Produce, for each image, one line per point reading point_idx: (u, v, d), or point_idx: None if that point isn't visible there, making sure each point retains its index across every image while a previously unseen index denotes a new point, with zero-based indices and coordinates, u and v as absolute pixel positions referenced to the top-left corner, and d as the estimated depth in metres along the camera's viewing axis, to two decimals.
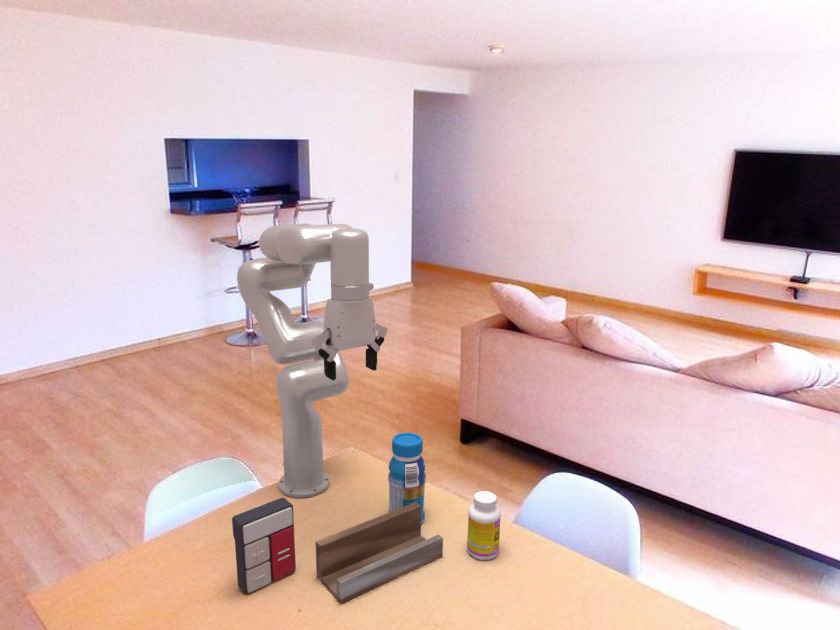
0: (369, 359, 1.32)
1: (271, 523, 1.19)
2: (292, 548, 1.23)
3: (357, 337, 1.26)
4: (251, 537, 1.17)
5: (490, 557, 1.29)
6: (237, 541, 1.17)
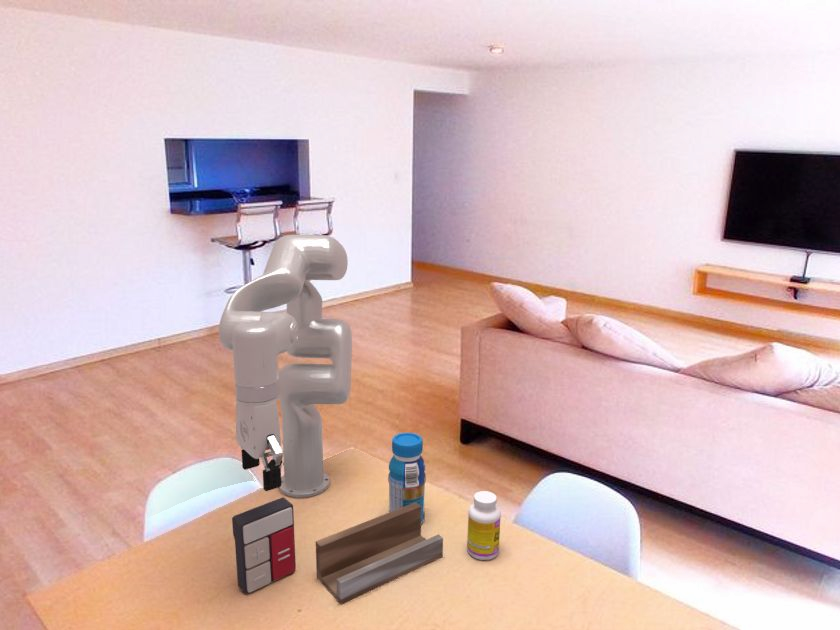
0: (251, 458, 1.20)
1: (271, 523, 1.19)
2: (292, 548, 1.23)
3: None
4: (251, 537, 1.17)
5: (490, 557, 1.29)
6: (237, 541, 1.17)
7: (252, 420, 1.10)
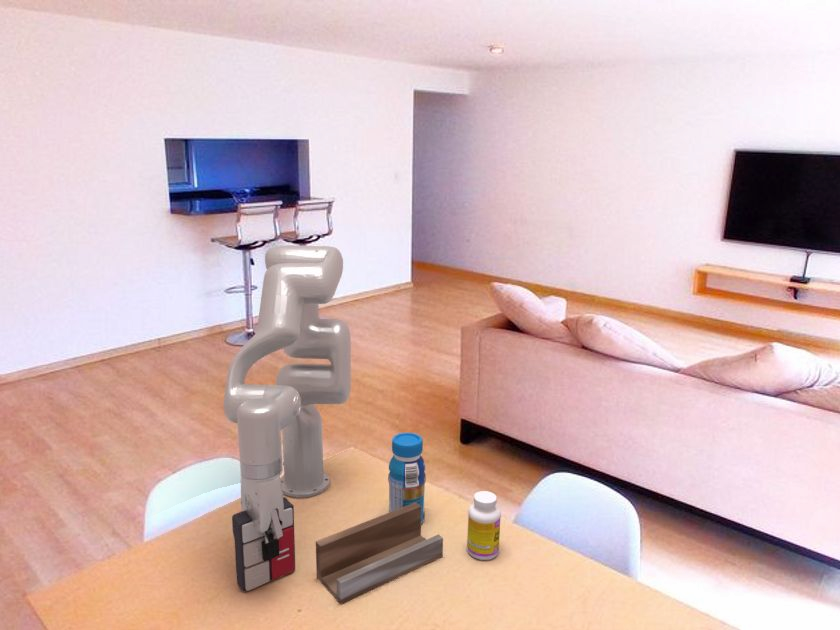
0: None
1: None
2: (292, 548, 1.23)
3: None
4: (250, 536, 1.17)
5: (490, 557, 1.29)
6: (236, 539, 1.17)
7: (257, 496, 1.14)
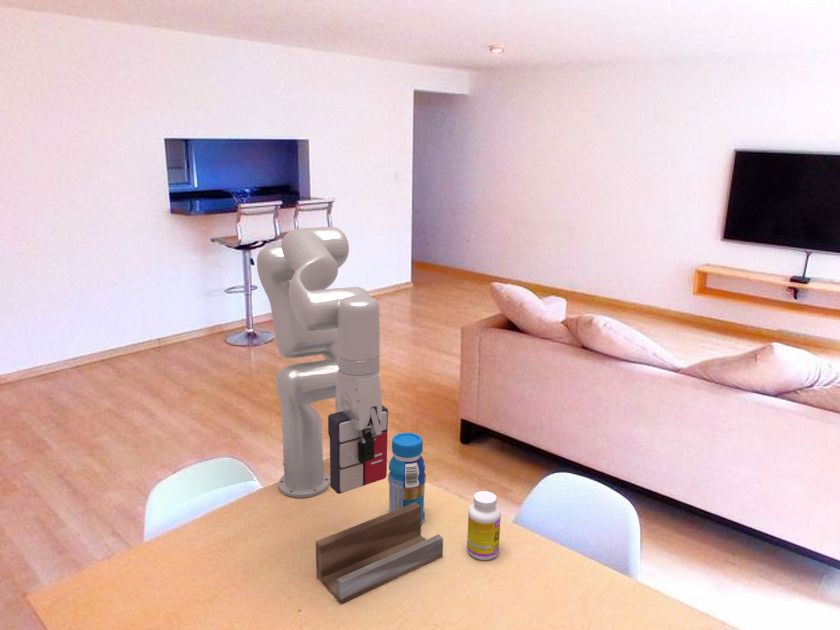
0: None
1: None
2: (385, 453, 1.21)
3: None
4: (347, 436, 1.15)
5: (490, 557, 1.29)
6: (332, 439, 1.16)
7: (356, 392, 1.12)
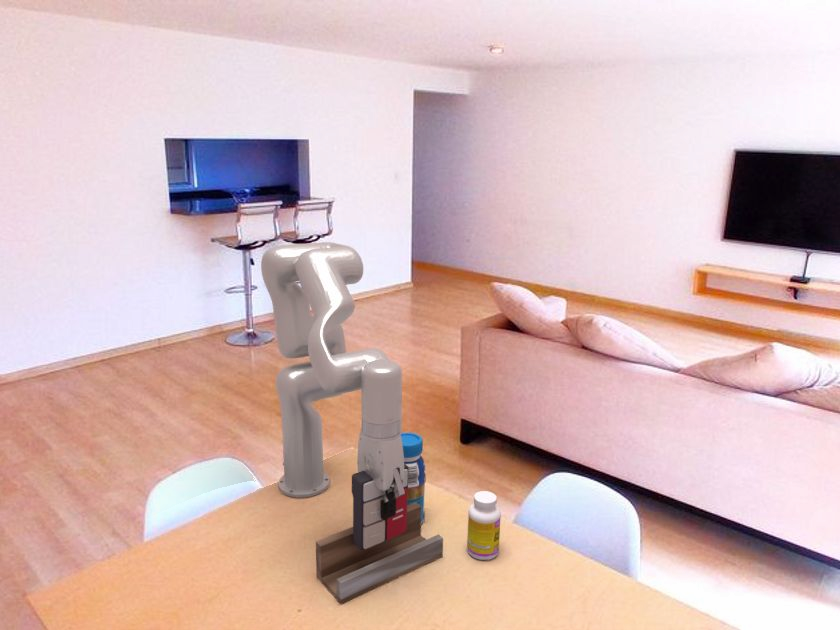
0: None
1: None
2: (405, 509, 1.26)
3: None
4: (370, 495, 1.19)
5: (490, 557, 1.29)
6: (356, 498, 1.20)
7: (380, 455, 1.16)
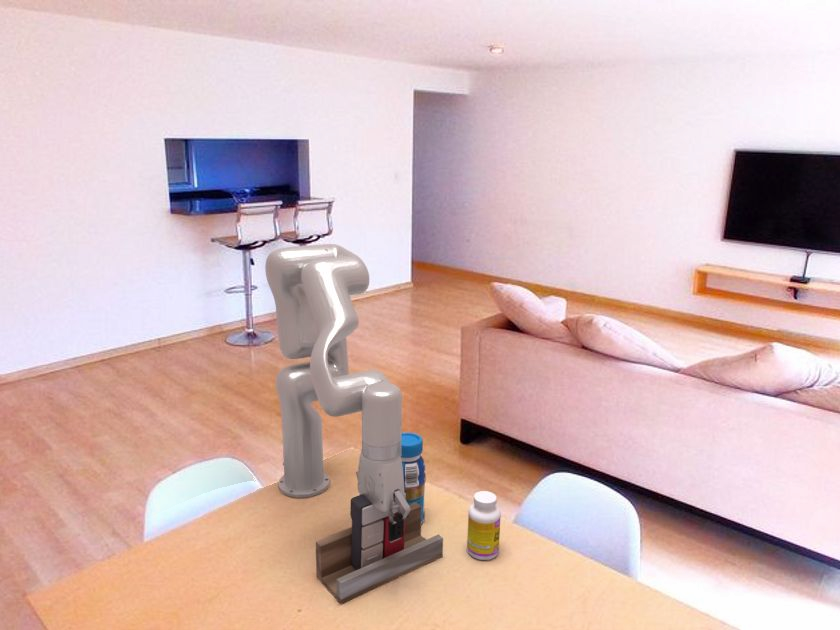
0: None
1: None
2: None
3: None
4: (369, 519, 1.21)
5: (490, 557, 1.29)
6: (355, 522, 1.22)
7: (380, 477, 1.17)
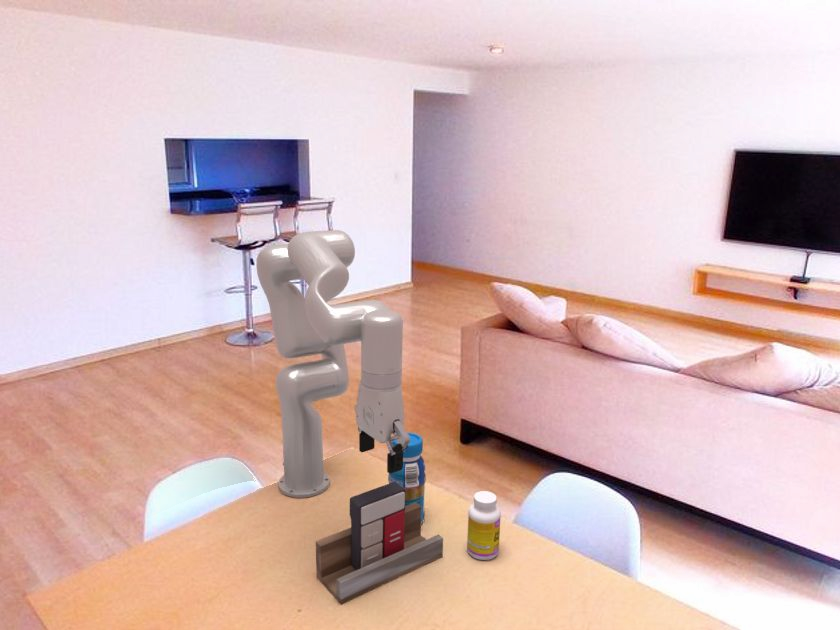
0: (368, 441, 1.24)
1: (386, 506, 1.23)
2: (402, 531, 1.27)
3: None
4: (368, 518, 1.21)
5: (490, 557, 1.29)
6: (354, 521, 1.22)
7: (380, 406, 1.14)
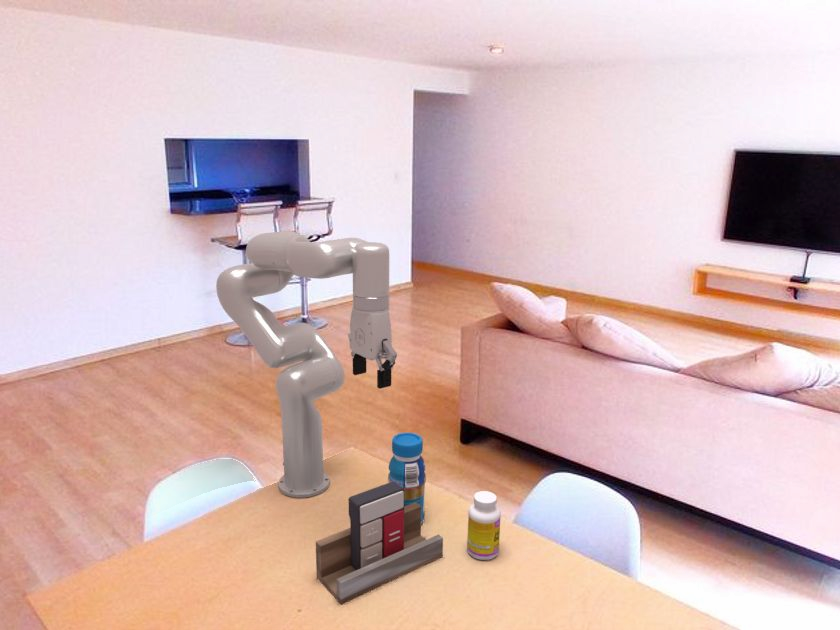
0: (360, 365, 1.39)
1: (385, 505, 1.24)
2: (402, 530, 1.28)
3: None
4: (367, 518, 1.22)
5: (490, 557, 1.29)
6: (353, 521, 1.22)
7: (370, 326, 1.28)
